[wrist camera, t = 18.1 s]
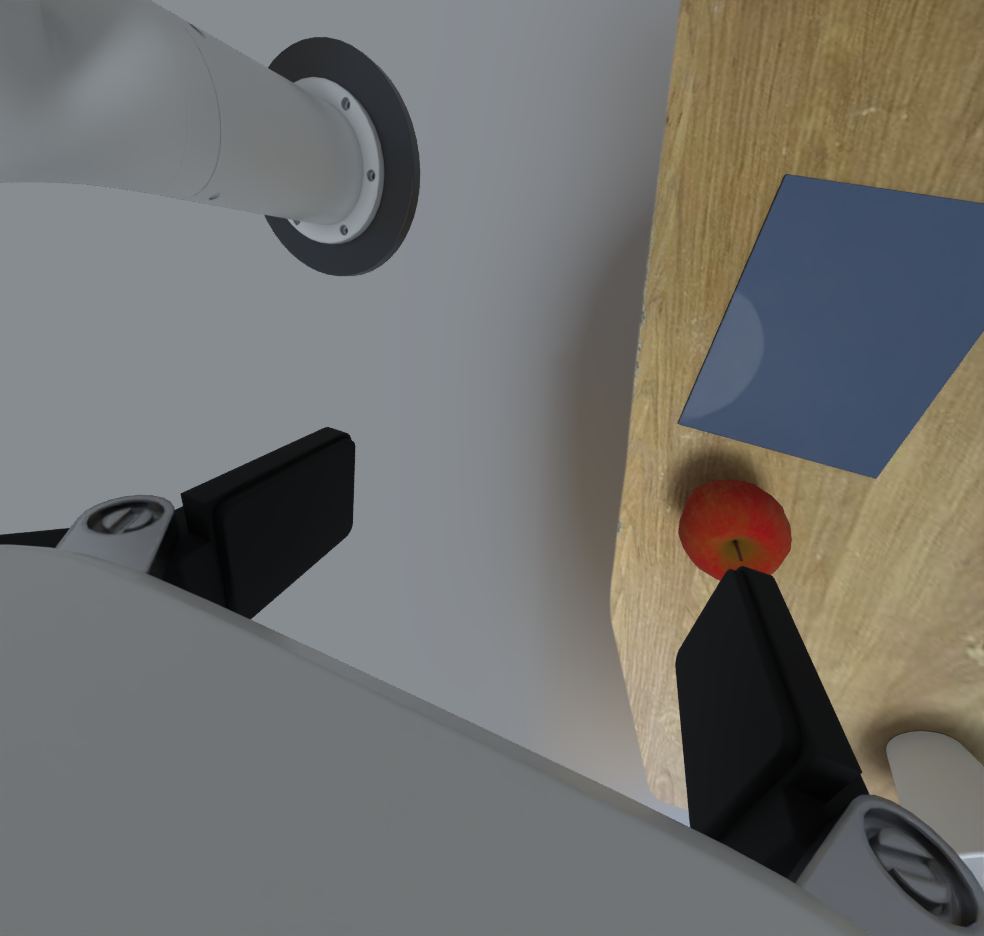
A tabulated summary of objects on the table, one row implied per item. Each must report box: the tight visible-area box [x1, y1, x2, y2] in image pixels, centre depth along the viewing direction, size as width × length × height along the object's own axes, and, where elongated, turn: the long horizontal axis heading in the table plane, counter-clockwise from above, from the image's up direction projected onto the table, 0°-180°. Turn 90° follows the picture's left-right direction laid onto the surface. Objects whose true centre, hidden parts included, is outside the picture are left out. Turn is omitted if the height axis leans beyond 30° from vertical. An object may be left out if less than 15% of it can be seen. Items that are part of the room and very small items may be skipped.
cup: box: [886, 731, 984, 891], centre depth 39 cm, size 12×12×12 cm
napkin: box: [678, 174, 984, 479], centre depth 33 cm, size 17×20×1 cm
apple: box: [678, 480, 792, 581], centre depth 36 cm, size 9×8×11 cm
